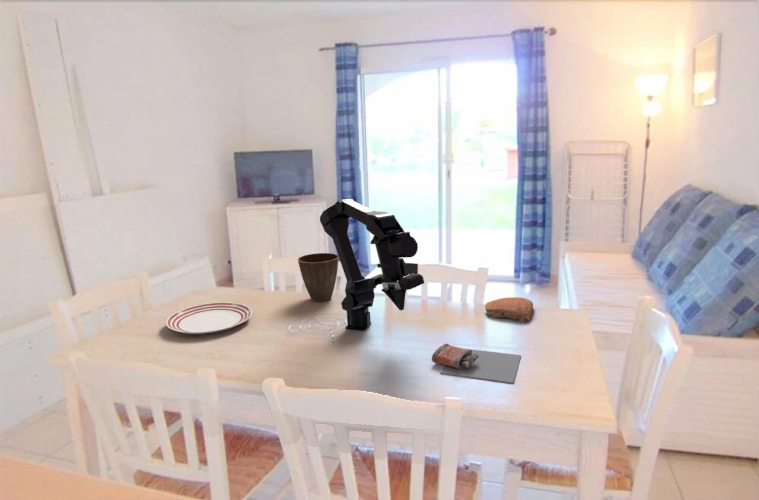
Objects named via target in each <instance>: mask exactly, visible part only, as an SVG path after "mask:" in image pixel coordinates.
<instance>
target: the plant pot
mask: <svg viewBox="0 0 759 500" xmlns="http://www.w3.org/2000/svg"><path fill="white" fill-rule="evenodd" d="M297 262H298V266H299V270H300V273H301V274H300V275H301V277H302V280H303V283H304V286H305V289H306V290H307V293H308V295H309V297H310V299H311V301H312V302H317V303H321V302H328V301H329V300H331V299H332V297H333V293H334V290H335V286H336V283H337V277H338V276H337V275H338V270H339V269H338V268H339V256H338V254H336V253H332V252H331V253H329V252H317V253H310V254H309V253H308V254H305V255H302V256H300V257H298V258H297Z"/></svg>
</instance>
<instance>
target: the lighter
mask: <svg viewBox="0 0 759 500" xmlns="http://www.w3.org/2000/svg"><path fill="white" fill-rule="evenodd" d="M470 349H471V348H470ZM470 349H469V348H464V349H463V347H458V346H454V345H451V344H449V343H443V344H442V345H440V346H439V347H437V349H436V350H435V351H434V352H433V354H432V355H431V361H432V363H435V364H441V365H443V366H444V365H448V366H451V367H455V368H456V369H460V368H462V367H463V366H464V367H469V366H472V365H474V363H473V362H474V361H476V360H477V359H478V358H479V355H478V354H475V353H474V354H473V355H472V350H473V349H472V350H470Z"/></svg>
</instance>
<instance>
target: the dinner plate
mask: <svg viewBox="0 0 759 500" xmlns="http://www.w3.org/2000/svg"><path fill="white" fill-rule="evenodd" d="M252 316H253V309H252V308H251V307H249V306H248V305H246V304H244V303H239V302H238V303H237V302H234V301H233V302H231V301H216V302H214V301H213V302H206V303H201V304H196V305H192V306H188V307H185V308H182V309H179V310H178V311H176V312H174V313H171V315H169V316H168V317H167V319H166V320H165V325H166V327H167V328H168V329H169V330H172V331H175V332H178V333H182V334H187V335H188V334H190V335H207V334H206V333H210V334H215V333H214V332H216V333H220V332H223V330H224V331H226V330H229V329H232V328H235V327H237V326H239V325H241V324H243V323H245V322H247V321H249V319H250V318H251V317H252ZM219 331H220V332H219Z"/></svg>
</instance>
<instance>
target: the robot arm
mask: <svg viewBox="0 0 759 500" xmlns="http://www.w3.org/2000/svg"><path fill="white" fill-rule="evenodd" d="M350 218H352V219H353V220H356V221H358V222H359V223H361V224H363V225H364V226H365V229H366V230H367V231H368V232H369V233H370V234H371V235H373V237H372V239H371V241H370V245H374V246H375V250H376V254H377V257H378V261H379V263H377V264H376V266H377V268H379V269H381V273H380V274H377V275H375V276H372V277H369V278H365V276H364V275H363V274H362V272H361V270H360V266H359V264H358V261H357V258H356V254H355V252H354V249H353V246H352V243H351V241H350V238H349V235H348V232H349V231H348V230H349V225H350V222H349V219H350ZM319 221H320V224H321V226H322V228H323V230H324V232H325V233H326V234H327V235H328V236H330V238H331V239H332V242H333V244H334V246H335V251H336V253H337V255H338V256H339V257H338V260H339V261H340V264H341V267H342V269H343V273H344V277H345V279H346V284H345V287H344V288H345V289H344V293H345V297H344V298H343V300H342V301H341V302H340V303H341V308H342V310H344V311H346V321H347V325H346V326H345V329H347V330H353V331H365V330H366V329H368V327H369V326H370V325H371V324H372V320H371V312H370V311H369V308H371V307H373V305H374V299H375V289H376V288H377V286H379V285H381V286H382V289H381V292H383V293H384V294H385V295H386V296H387V298H389V299H390V300H391V302H392V303H393V304H394V306H395V307H396V308H397V309H398V310H399V311H403V310H404V309H405V301H406V300H405V299H406V293H407V291H409V290H413V289H414V288H416V287H419V286H421V285H423V284H425V280H424V279H425V278H424V275H422V274H421V273H419V263H416V262H415V263H414V262H413V263H412V262H405V260H404V258H412V257H415V256H416V255H417V252H418V249H419V247H418V246H419V245H418V242H417V240H416V238H414V237H413V236H411V232H410V231H405V230H404V228H403V227H402V226H401V224H400V223H399V221H398V220H397V219H396V216H395V214H394V213H392V212H387V211H377V210H373V209H371V208H369V207H367V206H364V205H363V204H360V203H358V202H356V201H355V200H354V199H353V198H345V199H338V201H336V202H335V204H333V205H331V206H329V207H328V208H326V209H325V210H323V211H322V212H321V214H320V216H319Z"/></svg>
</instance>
